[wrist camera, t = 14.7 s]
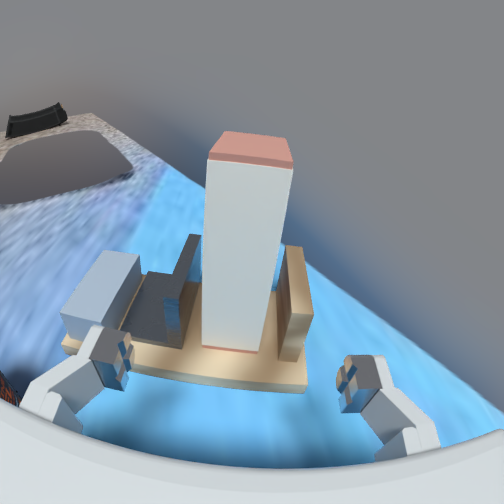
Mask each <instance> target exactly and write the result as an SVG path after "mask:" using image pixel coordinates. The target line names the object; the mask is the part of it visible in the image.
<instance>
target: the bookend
mask: <svg viewBox="0 0 504 504" xmlns="http://www.w3.org/2000/svg"><path fill="white" fill-rule="evenodd" d="M200 265H201V235H196V234H189V236H188V239H187V241H186V243H185V245H184V248H183V250H182V252H181V255H180V257H179V259H178V262H177V264H176V266H175V269H174V271H173V274H165V273H158V272H151V271H148V273H147V275H146V277H145V279H144V281H143V283H142V285H141V287H140V289H139V291H138V293H137V295H136V297H135V299H134V301H133V303H132V305H131V307H130V309H129V311H128V313H127V315H126V317H125V319H124V321H123V324H122V326H121V328H120V331H124V332H128V333H130V334H131V338H132V340H131V341H136V342H141V343H146V344H152V345H157V346H163V347H168V348H174V349H180V350H182V348H183V344H184V340H185V336H186V332H187V329H188V325H189V321H190V317H191V314H192V310H193V306H194V303H195V299H196V296H197V292H198V288H199V285H200Z"/></svg>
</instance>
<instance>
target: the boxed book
mask: <svg viewBox="0 0 504 504" xmlns="http://www.w3.org/2000/svg"><path fill="white" fill-rule="evenodd" d="M292 167H293V159H292V156H291V153H290V150H289V147H288V144H287V141H286V139H285V138H279V137H272V136H265V135H257V134H248V133H239V132H228V131H225V132H224V133H223V135H222V136H221V137H220V138H219V140H218V141H217V142H216V144H215V145H214V146H213V148H212V149H211V150H210V152H209V159H208V160H207V175H206V192H205V211H204V235H203V266H202V348H209V349H216V350H224V351H232V352H241V353H250V354H257V351H258V350H259V345H260V341H261V336H262V331H263V326H264V321H265V317H266V312H267V307H268V302H269V297H270V292H271V287H272V282H273V277H274V272H275V267H276V261H277V256H278V251H279V246H280V240H281V235H282V230H283V224H284V219H285V213H286V208H287V202H288V196H289V191H290V185H291V179H292V174H293V168H292Z"/></svg>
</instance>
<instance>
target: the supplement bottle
mask: <svg viewBox="0 0 504 504" xmlns="http://www.w3.org/2000/svg"><path fill="white" fill-rule="evenodd" d="M0 398H1V399H3V400H5V401H7V402H9V403H11V404H12V405H14V406H16V407H18V408H19V405H20V403H21V401H22V399H21V398H20V396H19V395H18V394H17V391H15V390H14V389H13V387H12V386H11V385H10V383H9V382H8V381H7V379H6V378H5V377H4V375H3V374H2V372H1V371H0Z"/></svg>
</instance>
